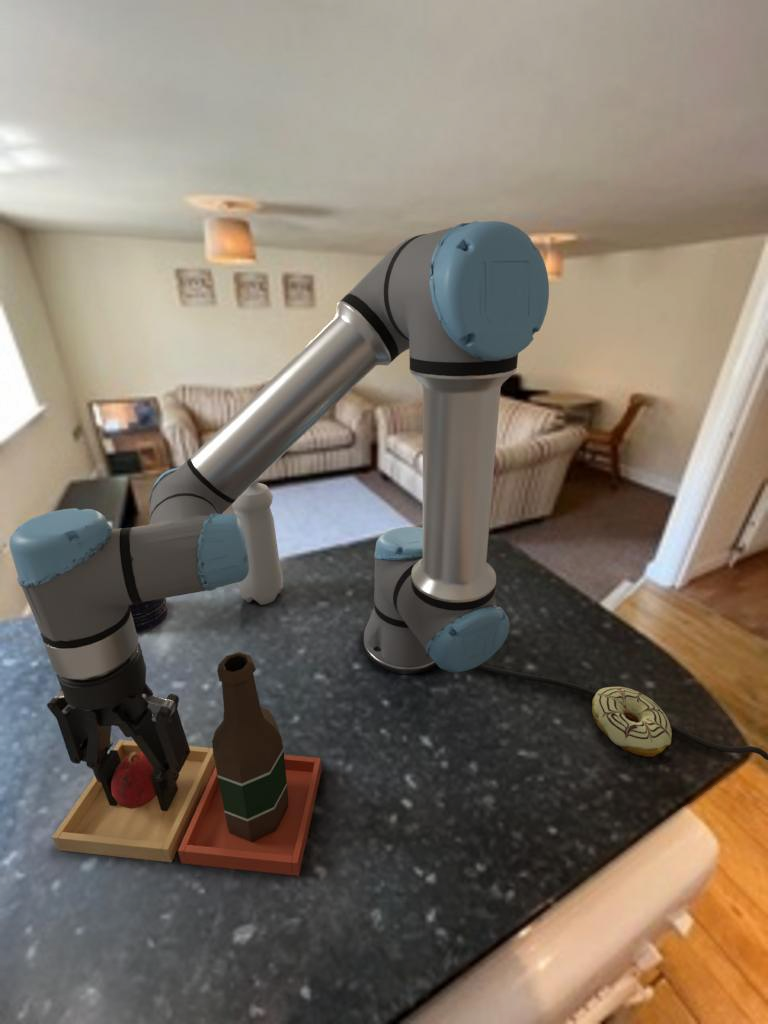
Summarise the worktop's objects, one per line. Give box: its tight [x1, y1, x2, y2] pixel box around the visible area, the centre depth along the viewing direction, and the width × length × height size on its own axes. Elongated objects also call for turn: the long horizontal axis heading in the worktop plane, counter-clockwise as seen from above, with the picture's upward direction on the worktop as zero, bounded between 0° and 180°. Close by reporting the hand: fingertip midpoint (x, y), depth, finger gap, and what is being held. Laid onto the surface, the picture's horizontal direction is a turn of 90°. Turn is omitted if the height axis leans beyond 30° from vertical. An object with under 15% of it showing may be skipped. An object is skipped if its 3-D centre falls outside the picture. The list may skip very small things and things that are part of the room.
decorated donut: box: [591, 686, 673, 758], centre depth 67 cm, size 10×11×4 cm
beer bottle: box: [211, 651, 288, 842], centre depth 50 cm, size 8×8×24 cm
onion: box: [111, 752, 156, 809], centre depth 54 cm, size 6×6×8 cm
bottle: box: [231, 475, 284, 606], centre depth 89 cm, size 9×9×30 cm
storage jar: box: [129, 598, 169, 634], centre depth 84 cm, size 10×10×18 cm
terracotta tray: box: [177, 754, 323, 877], centre depth 55 cm, size 13×12×2 cm
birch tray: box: [51, 739, 215, 863], centre depth 56 cm, size 13×12×2 cm
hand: (144, 797), depth 56 cm, fingers closed on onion, 6 cm apart
